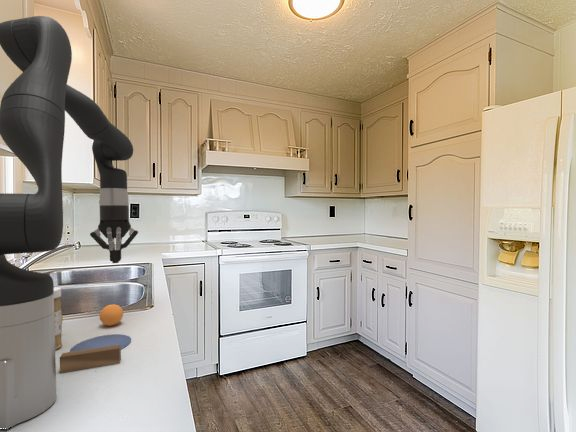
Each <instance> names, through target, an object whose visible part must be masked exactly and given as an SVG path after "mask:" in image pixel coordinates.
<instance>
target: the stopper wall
mask: <svg viewBox="0 0 576 432" xmlns="http://www.w3.org/2000/svg"><path fill="white" fill-rule="evenodd" d="M121 361H122V349H121V344H120V345H113V346H106V347H100V348H93V349H86V350H79V351H73V352H70V351H66V352H62V353H61V355H60V356H59V373H60V374H64V373H69V372H74V371H81V370H82V371H83V370H87V369H93V368H98V367H105V366H110V365H111V366H112V365H117V364H120V363H121Z"/></svg>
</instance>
